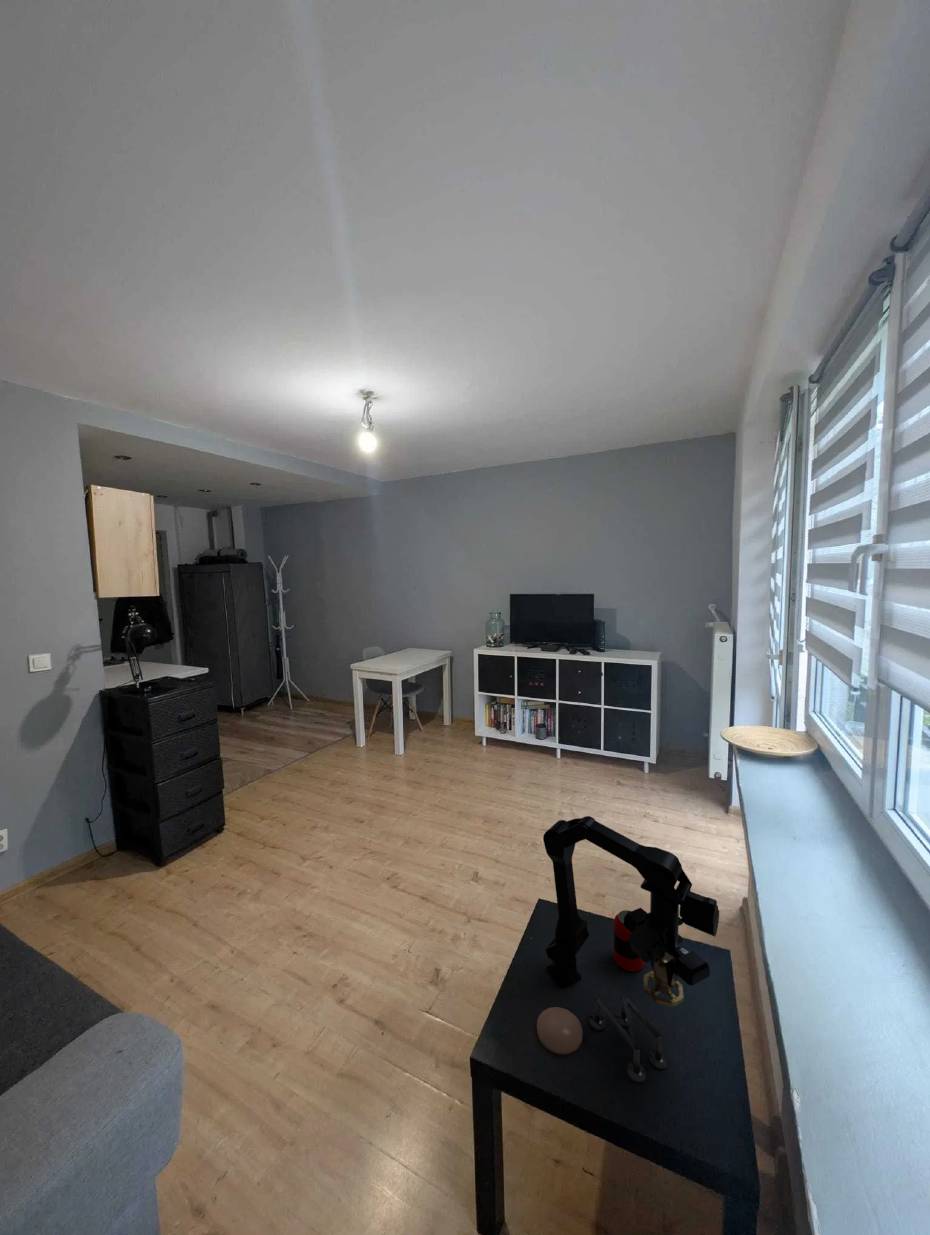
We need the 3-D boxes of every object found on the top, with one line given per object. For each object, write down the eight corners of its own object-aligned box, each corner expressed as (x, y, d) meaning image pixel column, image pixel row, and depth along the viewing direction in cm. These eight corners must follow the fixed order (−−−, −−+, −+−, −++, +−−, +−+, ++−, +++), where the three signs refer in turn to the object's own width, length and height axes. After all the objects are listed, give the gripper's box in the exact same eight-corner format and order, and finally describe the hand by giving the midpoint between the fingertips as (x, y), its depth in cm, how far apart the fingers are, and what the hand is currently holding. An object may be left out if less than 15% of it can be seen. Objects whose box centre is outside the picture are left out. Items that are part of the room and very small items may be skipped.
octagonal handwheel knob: (635, 982, 105) (636, 953, 104) (661, 969, 108) (662, 941, 108) (664, 1012, 98) (665, 981, 97) (691, 996, 101) (691, 967, 100)
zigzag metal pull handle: (585, 1019, 107) (585, 995, 106) (618, 1002, 111) (618, 980, 110) (636, 1086, 93) (636, 1059, 92) (671, 1064, 97) (671, 1038, 96)
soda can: (646, 955, 124) (646, 913, 123) (641, 977, 118) (642, 933, 117) (616, 945, 128) (617, 904, 127) (611, 965, 121) (611, 922, 120)
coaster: (528, 1021, 107) (528, 1017, 106) (564, 1004, 111) (564, 1000, 111) (553, 1062, 97) (553, 1058, 97) (591, 1042, 102) (591, 1038, 101)
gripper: (605, 897, 106) (605, 960, 108) (673, 957, 90) (671, 1031, 91) (642, 883, 111) (641, 943, 112) (712, 937, 94) (710, 1008, 96)
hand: (663, 978), depth 103 cm, fingers closed on octagonal handwheel knob, 4 cm apart
